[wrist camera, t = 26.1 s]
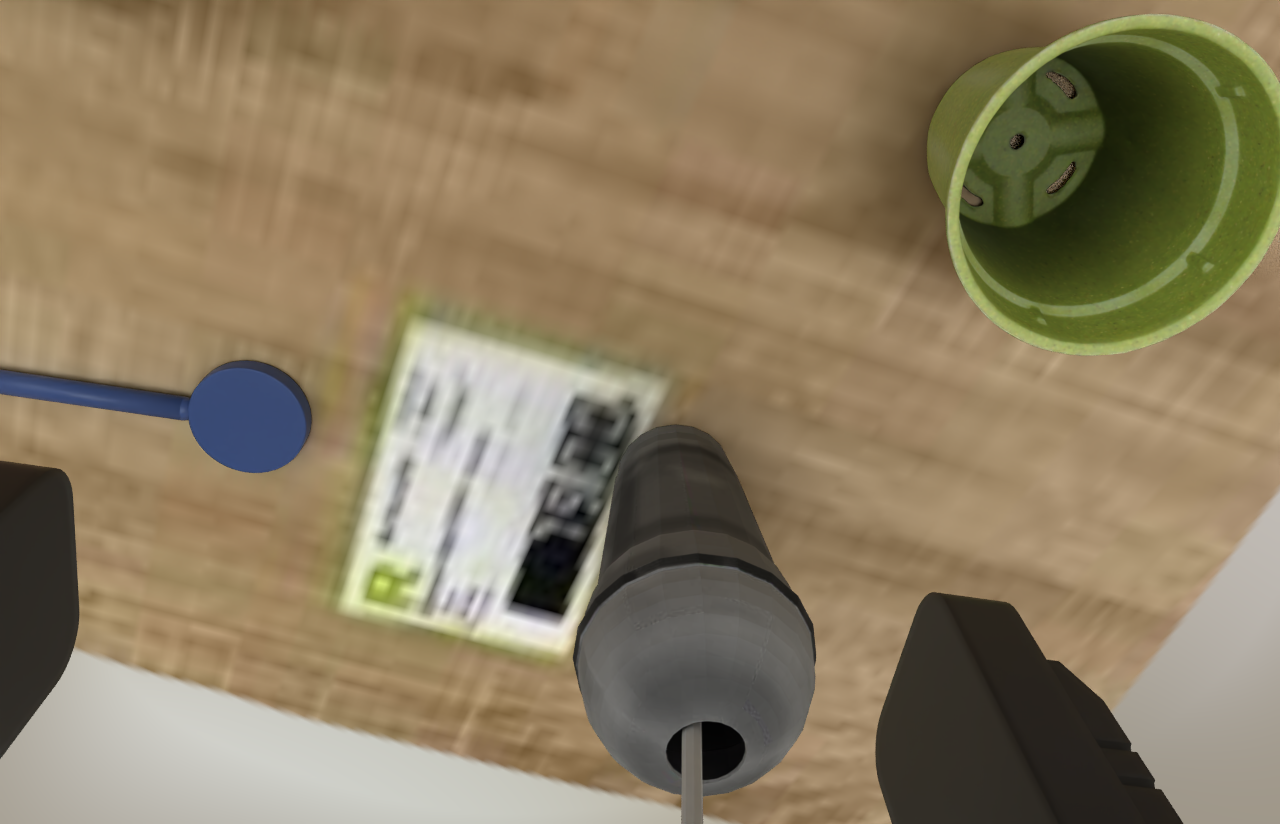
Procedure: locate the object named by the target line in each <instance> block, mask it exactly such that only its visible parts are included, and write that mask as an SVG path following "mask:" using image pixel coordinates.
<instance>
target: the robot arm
mask: <svg viewBox="0 0 1280 824" xmlns="http://www.w3.org/2000/svg"><path fill="white" fill-rule="evenodd" d="M78 625H79V596H78V578H77V560H76V542H75V524H74V507H73V493H72V487H71V483H70V481H69V478H68V476H67V475H66V474H65V472H63V471H62V470H60V469H57V468H50V467H42V466H35V465H28V464H21V463H14V462H6V461H0V758H1V757H2V756H3V755H4V753H5V752H6V751H7V749H8V748H9V746H10V745H11V744H12V743H13V741H14V740H15V739H16V737H17V736H18V735H19V733H20V732H21V730H22V729H23V728H24V726H25V725H26V724H27V722H28V721H29V720H30V719H31V717H32V716H33V714H34V713H35V712H36V710H37V709H38V708H39V706H40V705H41V704H42V702H43V701H44V700H45V699H46V697H47V696H48V695H49V693H50V692H51V691H52V689H53V688H54V687H55V685H56V684H57V682H58V681H59V679H60V678H61V676H62V674H63V672H64V670H65V668H66V666H67V664H68V662H69V659H70V657H71V654H72V651H73V648H74V644H75V640H76V636H77V631H78ZM876 769H877V775H878V780H879V784H880V787H881V790H882V794H883V797H884V800H885V803H886V806H887V809H888V812H889V815H890V819H891V822H892V824H1183V822H1182V821H1181V819H1180V818H1179V816H1178V815H1177V813H1176V812H1175V810H1174V809H1173V807H1172V805H1171V804H1170V802H1169V801H1168V799H1167V798H1166V796H1165V795H1164V793H1163V792H1162V790H1160V789H1155V787H1154V782H1155V779H1154V778H1153V776H1152V775H1151V773H1150V772H1149V770H1148V768H1147V767H1146V766H1145V764H1144V762H1143V761H1142V760H1141V758H1140V756H1139V755H1138V753H1137V752H1131V743H1130V741H1129V739H1128V738H1127V736H1126V735H1125V733H1124V732H1123V730H1122V729H1121V727H1120V725H1119V724H1118V722H1117V721H1116V719H1115V718H1114V716H1113V715H1112V713H1111V712H1110V710H1109V708H1108V707H1107V705H1106V704H1105V702H1104V701H1103V700H1102V699H1101V698H1100V697H1099V696H1098V695H1097V694H1095V693H1094V692H1093V691H1092V690H1091V689H1090V688H1089V687H1087V686H1086V685H1085V684H1084V683H1083V682H1082V681H1081V680H1080V679H1078V678H1077V677H1076V676H1075V675H1074V674H1073V673H1072V672H1071V671H1069V670H1068V669H1067V668H1066V667H1065V666H1064V665H1063V664H1062V663H1060V662H1059V661H1053V660H1046V658H1045V656H1044V655H1043V653H1042V651H1041V650H1040V648H1039V646H1038V645H1037V643H1036V641H1035V640H1034V638H1033V637H1032V635H1031V633H1030V632H1029V630H1028V628H1027V627H1026V625H1025V623H1024V622H1023V620H1022V618H1021V617H1020V615H1019V614H1018V612H1017V611H1016V609H1015V608H1014V607H1013V606H1012V605H1011V604H1009V603H1007V602H1001V601H994V600H987V599H979V598H972V597H965V596H958V595H951V594H943V593H936V592H932V593H930V594H928V595H927V596H926V597H924V599H923V600H922V601H921V603H920V605H919V607H918V609H917V611H916V614H915V617H914V620H913V623H912V625H911V628H910V631H909V634H908V637H907V640H906V643H905V646H904V648H903V651H902V654H901V657H900V660H899V663H898V666H897V669H896V671H895V674H894V677H893V680H892V683H891V686H890V689H889V692H888V694H887V697H886V700H885V703H884V706H883V709H882V712H881V715H880V718H879V723H878V728H877V735H876Z"/></svg>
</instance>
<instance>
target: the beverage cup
mask: <svg viewBox="0 0 1280 824" xmlns="http://www.w3.org/2000/svg"><path fill="white" fill-rule="evenodd" d="M573 661H574V666H575V670H576V675H577V679H578V684H579V688H580V691H581V694H582V697H583V701H584V706H585V710H586V713H587V716H588V720H589V722H590V724H591V726H592V727H593V729H594V731H595V733H596V734H597V736H598V737H599V739H600V740H601V742H602V743H603V744H604V746H605V747H606V749H607V750H608V752H609V753H610V755H611V756H612V757H613V758H614V759H615V760H616V761H617V762H618V763H619V764H620V765H621V766H622V767H624V768H625V769H626V770H628V771H629V772H630V773H632V774H633V775H634V776H636V777H637V778H638V779H640V780H641V781H643V782H645V783H647V784H649V785H651V786H654V787H657V788H659V789H662V790H665V791H667V792H670V793H673V794H680V795H682V812H681V813H682V815H681V817H682V818H681V821H682V822H681V824H703V796H709V795H717V794H724V793H729V792H732V791H734V790H737V789H739V788H742V787H744V786H747V785H749V784H752V783H754V782H755V781H756V780H758V779H759V778H760V777H762V776H763V775H764V774H766V773H767V772H769V771H770V770H771V769H773V768H774V767H775V766H776V765H777V764H779V763H780V762H781V761H782V759H783V758H784V756H785V755H786V754H787V752H788V751H789V750H790V748H791V747H792V746H793V744H794V743H795V741H796V740H797V738H798V737H799V735H800V734H801V732H802V730H803V728H804V724H805V721H806V718H807V714H808V711H809V707H810V704H811V700H812V697H813V694H814V690H815V669H814V666H815V662H816V648H815V638H814V628H813V623H812V621H811V620H810V618H809V616H808V614H807V612H806V610H805V608H804V606H803V604H802V603H801V601H800V599H799V597H798V595H796V594H795V593H794V592H793V591H792V590H791V588H790V586H789V584H788V583H787V581H786V580H785V578H784V577H783V575H782V574H781V572H780V571H779V569H778V568H777V566H776V565H775V564H774V562H773V560H772V557H771V555H770V553H769V550H768V548H767V546H766V543H765V541H764V538H763V536H762V534H761V531H760V529H759V527H758V524H757V522H756V520H755V517H754V515H753V512H752V510H751V508H750V505H749V503H748V501H747V498H746V496H745V494H744V491H743V489H742V486H741V484H740V482H739V479H738V477H737V475H736V473H735V471H734V469H733V468H732V466H731V464H730V462H729V461H728V458H727V456H726V454H725V453H724V451H723V449H722V447H721V445H720V444H719V443H717V442H716V441H715V440H714V439H713V438H712V437H711V436H710V435H709V434H707V433H705V432H702V431H700V430H698V429H696V428H694V427H689V426H681V425H670V426H663V427H657V428H655V429H653V430H650V431H648V432H646V433H644V434H642V435H640V436H639V437H638V438H637V439H636V440H635V441H634V442H633V443H632V444H630V445H629V446H628V448H627V450H626V452H625V453H624V455H623V457H622V459H621V460H620V466H619V472H618V475H617V477H616V479H615V485H614V491H613V497H612V503H611V509H610V515H609V521H608V527H607V532H606V538H605V544H604V550H603V556H602V562H601V568H600V574H599V580H598V585H597V586H596V588H595V590H594V591H593V594H592V596H591V599H590V602H589V604H588V607H587V610H586V612H585V616H584V618H583V620H582V621H581V623H580V625H579V626H578V630H577V636H576V642H575V648H574V654H573Z"/></svg>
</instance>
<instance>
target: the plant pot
mask: <svg viewBox="0 0 1280 824" xmlns="http://www.w3.org/2000/svg"><path fill="white" fill-rule="evenodd" d="M1047 72H1048V73H1049V72H1055V73H1057V74H1060V75H1062V76H1064V77H1065V78H1067V79H1068V80H1069V81H1070V82H1071V83H1072V84H1073V86H1074V87H1075V90H1076V94H1077V95H1076V97H1074V99H1069V98H1068V97H1067V95H1066V94H1065V93H1064V92H1063V91H1062V90H1061V88H1060V87H1059V86H1058V85H1056V84H1055V83H1054V82H1052V81H1051V80H1052V79H1050V78H1047V77H1046V73H1047ZM1018 134H1021V135H1022V136H1023V137H1024V144H1023V145H1022V147H1020V148H1018V149H1017V150H1015V149H1013V148H1011V146H1010V140H1011V139H1012V138H1013V137H1014V136H1015V135H1018ZM1071 162H1075V166H1076V169H1075V171H1074V173H1073V174H1072V176H1071V177H1070V178H1069V180H1068V181H1067V182H1066V183H1065V184H1064V186H1063V187H1062V188H1061V189H1059V190H1058V191H1057V192H1056V193H1052V194H1048V193H1047V192H1046V191H1047V189H1048V188H1049V187H1050V186H1051V184H1053V183H1054V182H1055V181H1056V180H1058V179H1059V178H1060V177H1061V176H1062V175H1063V173H1064V172H1065V171H1066V170H1067V168H1068V167H1069V165H1070V164H1071ZM927 164H928V172H929V176H930V179H931V181H932V184H933V186H934V188H935V190H936V192H937V194H938V196H939V198H940V200H941V202H942V204H943V205H944V207H945V209H946V213H945V221H946V235H947V242H948V247H949V252H950V255H951V259H952V262H953V265H954V268H955V270H956V273H957V275H958V277H959V279H960V281H961V283H962V285H963V287H964V288H965V290H966V292H967V294H968V295H969V297H970V298H971V299H972V300H973V302H974V303H975V304H976V306H977V307H978V308H979V309H980V310H981V311H982V313H983V314H984V315H985V316H986V317H987V318H989V319H990V320H991V321H992V322H993V323H994V324H996V325H997V326H998V327H1000V328H1001V329H1002V330H1004V331H1005V332H1007V333H1009V334H1010V335H1012V336H1013V337H1015V338H1017V339H1019V340H1021V341H1023V342H1026V343H1028V344H1030V345H1033V346H1035V347H1038V348H1041V349H1045V350H1049V351H1053V352H1058V353H1063V354H1069V355H1079V356H1095V355H1108V354H1120V353H1126V352H1129V351H1133V350H1137V349H1141V348H1144V347H1147V346H1150V345H1153V344H1156V343H1159V342H1161V341H1164V340H1166V339H1168V338H1170V337H1172V336H1174V335H1176V334H1178V333H1180V332H1182V331H1184V330H1185V329H1187V328H1189V327H1190V326H1192V325H1194V324H1195V323H1197V322H1199V321H1200V320H1202V319H1204V318H1205V317H1206V316H1208V315H1209V314H1210V313H1212V312H1213V311H1215V310H1216V309H1217V308H1218V307H1220V306H1221V305H1222V304H1223V303H1224V302H1225V301H1226V300H1227V299H1228V298H1229V297H1230V296H1231V295H1232V294H1233V293H1234V292H1235V291H1236V290H1237V289H1238V288H1239V287H1240V286H1241V285H1242V284H1243V283H1244V282H1245V281H1246V280H1247V279H1248V277H1249V276H1250V275H1251V274H1252V272H1253V271H1254V270H1255V268H1256V267H1257V266H1258V264H1259V263H1260V261H1261V260H1262V258H1263V257H1264V255H1265V253H1266V251H1267V250H1268V248H1269V246H1270V245H1271V243H1272V241H1273V239H1274V237H1275V235H1276V233H1277V231H1278V229H1279V227H1280V83H1279V81H1278V79H1277V78H1276V76H1275V74H1274V73H1273V71H1272V70H1271V68H1270V67H1269V65H1268V64H1267V63H1266V62H1265V61H1264V59H1263V58H1262V57H1261V56H1260V55H1259V54H1258V53H1257V52H1256V51H1255V50H1254V49H1252V48H1251V47H1250V46H1249V45H1247V44H1246V43H1244V42H1243V41H1242V40H1241V39H1239V38H1238V37H1236V36H1235V35H1233V34H1232V33H1230V32H1228V31H1226V30H1224V29H1222V28H1220V27H1218V26H1215V25H1212V24H1209V23H1206V22H1203V21H1200V20H1197V19H1193V18H1188V17H1182V16H1176V15H1164V14H1146V15H1132V16H1125V17H1119V18H1114V19H1109V20H1105V21H1101V22H1098V23H1095V24H1092V25H1089V26H1086V27H1083V28H1081V29H1079V30H1076V31H1074V32H1071V33H1069V34H1067V35H1065V36H1063V37H1062V38H1060V39H1058V40H1056V41H1054V42H1053V43H1051V44H1049V45H1047V46H1046V47H1033V48H1021V49H1014V50H1010V51H1006V52H1002V53H999V54H996V55H993V56H991V57H989V58H987V59H985V60H983V61H981V62H979V63H978V64H976V65H974V66H973V67H972V68H970V69H969V70H968V71H966V72H965V73H964V74H963V75H961V76H960V77H959V78H958V79H957V80H956V81H955V82H954V83H953V84H952V86H951V87H950V88H949V90H948V91H947V92H946V94H945V95H944V96H943V98H942V100H941V102H940V103H939V105H938V107H937V109H936V111H935V113H934V115H933V117H932V120H931V123H930V127H929V131H928V139H927ZM963 185H964V186H965V187H966V188H967V189H968V190H969V191H970V192H971V193H972V194H974V195H975V196H978V197H980V198H981V199H982V200H983V205H982V206H978V207H977V206H971V205H969V204H968V203H967V202H966V201H965V200H964V199H963V198H961V192H962V187H963Z"/></svg>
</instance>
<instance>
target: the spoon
mask: <svg viewBox="0 0 1280 824" xmlns="http://www.w3.org/2000/svg"><path fill="white" fill-rule="evenodd" d="M0 394H4V395H11V396H18V397H25V398H32V399H39V400H45V401H52V402H59V403H66V404H73V405H80V406H87V407H94V408H101V409H108V410H115V411H122V412H128V413H135V414H142V415H149V416H156V417H163V418H170V419H177V420H189V424H190V428H191V430H192V433H193V435H194V437H195V439H196V441H197V442H198V444H199V445H200V446H201V447H202V449H203V450H204V451H205V452H206V453H207V454H208V455H209V456H211V457H212V458H213V459H215V460H216V461H217V462H219V463H221V464H223V465H225V466H227V467H229V468H231V469H235V470H238V471H243V472H249V473H262V472H269V471H272V470H276V469H278V468H281V467H283V466H284V465H286V464H288V463H289V462H290V461H292V460H293V459H294V458H295V457H296V456H297V454H298V453H299V452H300V450H301V449H302V447H303V445H304V444H305V442H306V440H307V438H308V436H309V433H310V429H311V411H310V407H309V404H308V401H307V399H306V397H305V395H304V393H303V392H302V390H301V389H300V387H299V386H298V385H297V384H296V383H295V382H294V381H293V380H292V379H291V378H290V377H289V376H288V375H286V374H285V373H284V372H282V371H280V370H279V369H277V368H275V367H272V366H270V365H267V364H264V363H260V362H255V361H235V362H230V363H227V364H224V365H221V366H219V367H217V368H216V369H214V370H213V371H211V372H210V373H209V374H208V375H207V376H206V377H205V378H204V379H203V380H202V381H201V382H200V383H199V384H198V386H197V387H196V388H195V390H194V392H193V393H192V396H191V398H189V397H184V396H177V395H170V394H164V393H157V392H150V391H143V390H136V389H130V388H123V387H116V386H109V385H102V384H96V383H89V382H82V381H75V380H68V379H61V378H55V377H48V376H41V375H34V374H27V373H21V372H14V371H7V370H0Z"/></svg>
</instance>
